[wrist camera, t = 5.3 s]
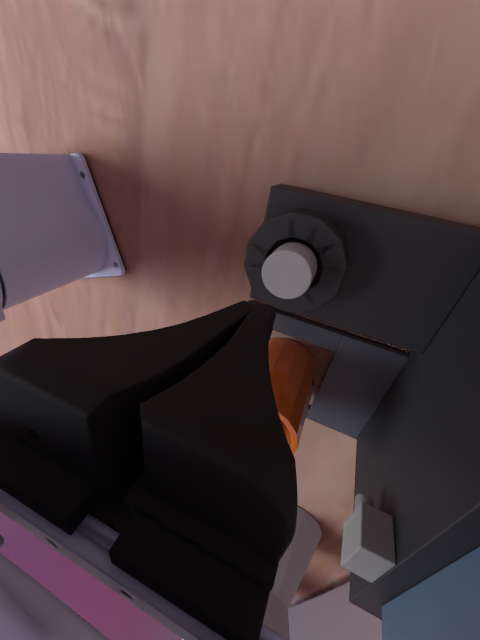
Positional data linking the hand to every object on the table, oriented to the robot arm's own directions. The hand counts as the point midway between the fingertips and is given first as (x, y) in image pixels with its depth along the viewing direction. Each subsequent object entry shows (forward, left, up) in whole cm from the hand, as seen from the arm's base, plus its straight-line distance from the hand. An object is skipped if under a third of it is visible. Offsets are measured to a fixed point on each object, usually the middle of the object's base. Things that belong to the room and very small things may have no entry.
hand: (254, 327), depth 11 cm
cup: (+9, -2, -9) cm, 13 cm away
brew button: (-1, 0, -6) cm, 6 cm away
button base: (+1, +3, -9) cm, 10 cm away
